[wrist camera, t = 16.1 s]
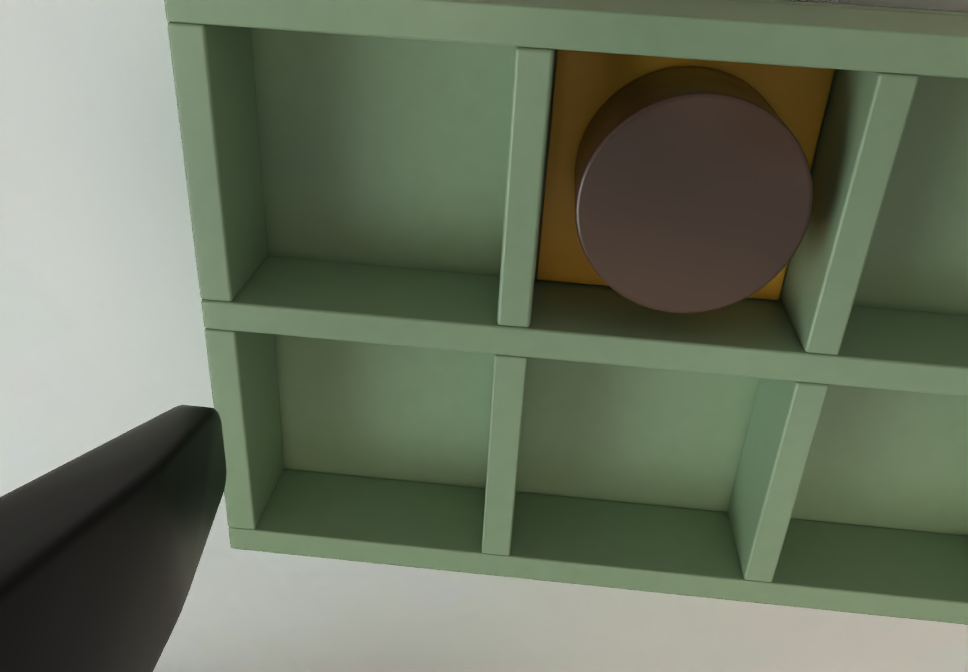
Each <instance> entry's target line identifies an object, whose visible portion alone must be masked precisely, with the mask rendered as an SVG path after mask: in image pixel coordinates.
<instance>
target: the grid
mask: <svg viewBox="0 0 968 672" xmlns="http://www.w3.org/2000/svg"><path fill="white" fill-rule="evenodd" d="M164 1H165V9H166V17H167V21H169V23H168V32H169V40H170V48H171V56H172V65H173V73H174V81H175V89H176V98H177V106H178V114H179V122H180V131H181V139H182V147H183V155H184V164H185V172H186V180H187V188H188V197H189V205H190V213H191V221H192V230H193V238H194V246H195V254H196V263H197V271H198V279H199V287H200V296H201V299H202V301H201V304H202V312H203V320H204V327H205V337H206V346H207V354H208V362H209V370H210V379H211V387H212V395H213V403H214V409H215V410H216V411H217V412H218V413H219V415H220V418H221V422H222V431H223V440H224V450H225V459H226V469H227V474H226V484H225V488H224V494H225V502H226V511H227V519H228V526H229V536H230V544H231V548H234V549H244V550H254V551H263V552H273V553H283V554H292V555H302V556H311V557H321V558H331V559H340V560H350V561H360V562H369V563H379V564H389V565H398V566H408V567H417V568H427V569H437V570H446V571H456V572H466V573H475V574H485V575H494V576H504V577H514V578H523V579H533V580H543V581H552V582H562V583H572V584H581V585H591V586H600V587H610V588H620V589H629V590H639V591H649V592H658V593H668V594H677V595H687V596H697V597H706V598H716V599H726V600H735V601H745V602H755V603H764V604H774V605H783V606H793V607H803V608H812V609H822V610H832V611H841V612H851V613H860V614H870V615H880V616H889V617H899V618H909V619H918V620H928V621H938V622H947V623H957V624H966V625H968V12H953V11H938V10H923V9H908V8H893V7H878V6H863V5H848V4H833V3H818V2H803V1H788V0H164ZM678 66H699V67H707V68H712V69H717V70H720V71H723V72H726V73H729V74H731V75H733V76H735V77H737V78H739V79H741V80H743V81H745V82H746V83H747V84H749V85H750V86H751V87H753V88H754V89H755V90H756V91H757V92H758V93H759V94H760V95H761V96H762V97H763V98H764V99H765V100H766V101H767V102H768V103H769V105H770V106H771V107H772V108H773V110H774V111H775V112H776V113H777V115H778V116H779V117H780V118H781V119H782V121H783V122H784V123H785V124H786V126H787V127H788V128H789V129H790V131H791V132H792V134H793V135H794V136H795V138H796V139H797V140H798V142H799V144H800V146H801V148H802V149H803V151H804V153H805V156H806V159H807V161H808V164H809V167H810V172H811V177H812V183H813V202H812V211H811V216H810V219H809V223H808V227H807V230H806V232H805V234H804V237H803V239H802V242H801V243H800V245H799V247H798V249H797V250H796V252H795V254H794V255H793V257H792V258H791V259H790V261H789V262H788V264H787V265H786V266H785V267H784V268H783V269H782V271H781V272H780V273H779V274H778V275H777V276H776V277H775V278H774V279H773V280H771V281H770V282H769V283H768V284H767V285H765V286H764V287H763V288H761V289H760V290H758V291H757V292H755V293H754V294H752V295H751V296H749V297H747V298H745V299H743V300H741V301H739V302H737V303H734V304H731V305H729V306H726V307H723V308H719V309H715V310H711V311H706V312H699V313H671V312H664V311H659V310H654V309H651V308H648V307H645V306H642V305H639V304H637V303H635V302H633V301H631V300H629V299H627V298H625V297H623V296H622V295H620V294H619V293H617V292H616V291H614V290H613V289H612V288H611V287H610V286H608V285H607V284H606V283H605V282H604V281H603V280H602V279H601V278H600V277H599V275H598V274H597V273H596V272H595V271H594V269H593V268H592V266H591V265H590V263H589V262H588V260H587V258H586V256H585V254H584V252H583V250H582V247H581V244H580V241H579V238H578V235H577V229H576V223H575V163H576V156H577V152H578V148H579V144H580V142H581V139H582V136H583V134H584V131H585V130H586V128H587V126H588V124H589V122H590V121H591V119H592V118H593V116H594V115H595V114H596V112H597V111H598V109H599V108H600V107H601V106H602V105H603V104H604V103H605V102H606V101H607V100H608V99H609V98H610V97H611V96H612V95H613V94H614V93H616V92H617V91H618V90H619V89H620V88H622V87H624V86H625V85H627V84H628V83H630V82H631V81H633V80H635V79H637V78H639V77H641V76H644V75H646V74H648V73H651V72H654V71H658V70H661V69H666V68H671V67H678Z"/></svg>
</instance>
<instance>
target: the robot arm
mask: <svg viewBox="0 0 968 672" xmlns="http://www.w3.org/2000/svg"><path fill="white" fill-rule="evenodd" d="M226 474H227V469H226V459H225V450H224V440H223V431H222V422H221V418H220V415H219V413H218V412H217V411H216V410H215V409H214V408H208V407H198V406H188V405H180V406H177V407H174V408H172V409H171V410H169V411H167V412H165V413H163V414H161V415H159V416H157V417H155V418H153V419H151V420H149V421H147V422H145V423H143V424H141V425H139V426H138V427H136V428H134V429H132V430H130V431H128V432H126V433H124V434H122V435H120V436H118V437H116V438H114V439H112V440H110V441H108V442H107V443H105V444H103V445H101V446H99V447H97V448H95V449H93V450H91V451H89V452H87V453H85V454H83V455H81V456H79V457H77V458H76V459H74V460H72V461H70V462H68V463H66V464H64V465H62V466H60V467H58V468H56V469H54V470H52V471H50V472H48V473H46V474H45V475H43V476H41V477H39V478H37V479H35V480H33V481H31V482H29V483H27V484H25V485H23V486H21V487H19V488H17V489H15V490H13V491H12V492H10V493H8V494H6V495H4V496H2V497H0V672H153V670H154V668H155V666H156V664H157V662H158V660H159V657H160V655H161V653H162V651H163V649H164V647H165V645H166V643H167V641H168V639H169V637H170V635H171V633H172V631H173V628H174V626H175V624H176V622H177V620H178V617H179V615H180V613H181V611H182V608H183V605H184V603H185V600H186V597H187V595H188V592H189V589H190V586H191V584H192V581H193V578H194V575H195V572H196V569H197V566H198V564H199V561H200V558H201V555H202V552H203V549H204V546H205V544H206V541H207V538H208V535H209V532H210V529H211V526H212V524H213V521H214V518H215V515H216V512H217V509H218V506H219V504H220V501H221V498H222V495H223V492H224V488H225V484H226Z"/></svg>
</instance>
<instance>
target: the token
mask: <svg viewBox="0 0 968 672" xmlns="http://www.w3.org/2000/svg"><path fill="white" fill-rule="evenodd" d="M812 202H813V183H812V177H811V172H810V167H809V164H808V161H807V159H806V156H805V153H804V151H803V149H802V148H801V146H800V144H799V142H798V140H797V139H796V138H795V136H794V135H793V134H792V132H791V131H790V129H789V128H788V127H787V126H786V124H785V123H784V122H783V121H782V119H781V118H780V117H779V116H778V115H777V113H776V112H775V111H774V110H773V108H772V107H771V106H770V105H769V103H768V102H767V101H766V100H765V99H764V98H763V97H762V96H761V95H760V94H759V93H758V92H757V91H756V90H755V89H754V88H753V87H751V86H750V85H749V84H747V83H746V82H745V81H743V80H741V79H739V78H737V77H735V76H733V75H731V74H729V73H726V72H723V71H720V70H717V69H712V68H707V67H699V66H678V67H671V68H666V69H661V70H658V71H654V72H651V73H648V74H646V75H644V76H641V77H639V78H637V79H635V80H633V81H631V82H630V83H628V84H627V85H625V86H624V87H622V88H620V89H619V90H618V91H617V92H616V93H614V94H613V95H612V96H611V97H610V98H609V99H608V100H607V101H606V102H605V103H604V104H603V105H602V106H601V107H600V108H599V109H598V111H597V112H596V114H595V115H594V116H593V118H592V119H591V121H590V122H589V124H588V126H587V128H586V130H585V131H584V134H583V136H582V139H581V142H580V144H579V148H578V152H577V156H576V163H575V223H576V229H577V235H578V238H579V241H580V244H581V247H582V250H583V252H584V254H585V256H586V258H587V260H588V262H589V263H590V265H591V266H592V268H593V269H594V271H595V272H596V273H597V274H598V275H599V277H600V278H601V279H602V280H603V281H604V282H605V283H606V284H607V285H608V286H610V287H611V288H612V289H613V290H614V291H616V292H617V293H619V294H620V295H622V296H623V297H625V298H627V299H629V300H631V301H633V302H635V303H637V304H639V305H642V306H645V307H648V308H651V309H654V310H659V311H664V312H671V313H699V312H706V311H711V310H715V309H719V308H723V307H726V306H729V305H731V304H734V303H737V302H739V301H741V300H743V299H745V298H747V297H749V296H751V295H752V294H754V293H755V292H757V291H758V290H760V289H761V288H763V287H764V286H765V285H767V284H768V283H769V282H770V281H771V280H773V279H774V278H775V277H776V276H777V275H778V274H779V273H780V272H781V271H782V269H783V268H784V267H785V266H786V265H787V264H788V262H789V261H790V259H791V258H792V257H793V255H794V254H795V252H796V250H797V249H798V247H799V245H800V243H801V242H802V239H803V237H804V234H805V232H806V230H807V227H808V223H809V219H810V216H811V211H812Z"/></svg>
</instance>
